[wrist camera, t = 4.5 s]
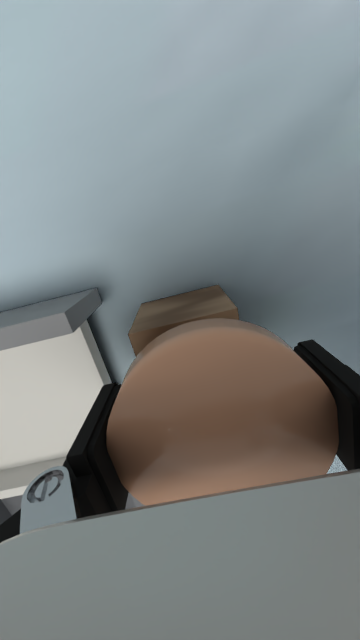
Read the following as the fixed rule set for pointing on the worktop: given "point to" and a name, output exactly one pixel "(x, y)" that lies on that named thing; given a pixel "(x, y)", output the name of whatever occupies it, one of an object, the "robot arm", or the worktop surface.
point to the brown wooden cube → (179, 313)
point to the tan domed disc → (219, 414)
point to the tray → (45, 384)
